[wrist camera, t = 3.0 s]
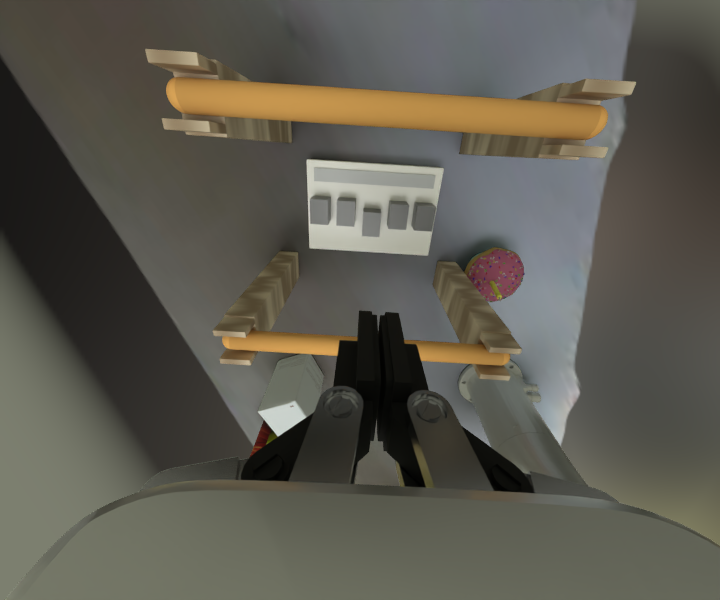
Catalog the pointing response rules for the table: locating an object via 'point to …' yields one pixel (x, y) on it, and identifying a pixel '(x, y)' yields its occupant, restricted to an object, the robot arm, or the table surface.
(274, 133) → the wooden post rack
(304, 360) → the supplement box
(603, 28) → the table surface
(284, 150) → the table surface
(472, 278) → the cupcake
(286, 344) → the orange cylindrical bar
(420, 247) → the breaker panel
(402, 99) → the orange rounded rod
